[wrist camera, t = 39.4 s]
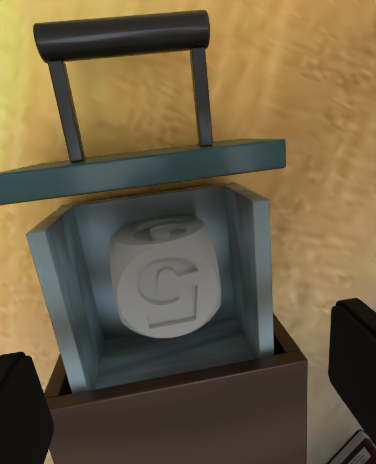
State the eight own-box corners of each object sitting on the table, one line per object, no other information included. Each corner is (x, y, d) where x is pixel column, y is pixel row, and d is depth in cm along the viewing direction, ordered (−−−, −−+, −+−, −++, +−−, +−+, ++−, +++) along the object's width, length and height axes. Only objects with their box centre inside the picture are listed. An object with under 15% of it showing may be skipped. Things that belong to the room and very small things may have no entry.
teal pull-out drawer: (13, 55, 16) (-69, 4, 10) (235, 36, 17) (284, -22, 11) (87, 343, 21) (63, 424, 15) (250, 314, 22) (288, 378, 16)
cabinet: (75, 314, 21) (35, 413, 14) (253, 285, 23) (308, 359, 15) (111, 453, 26) (96, 587, 18) (260, 421, 27) (306, 535, 19)
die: (130, 297, 19) (125, 348, 15) (114, 223, 18) (103, 253, 13) (206, 283, 20) (225, 329, 15) (197, 210, 18) (215, 235, 13)
